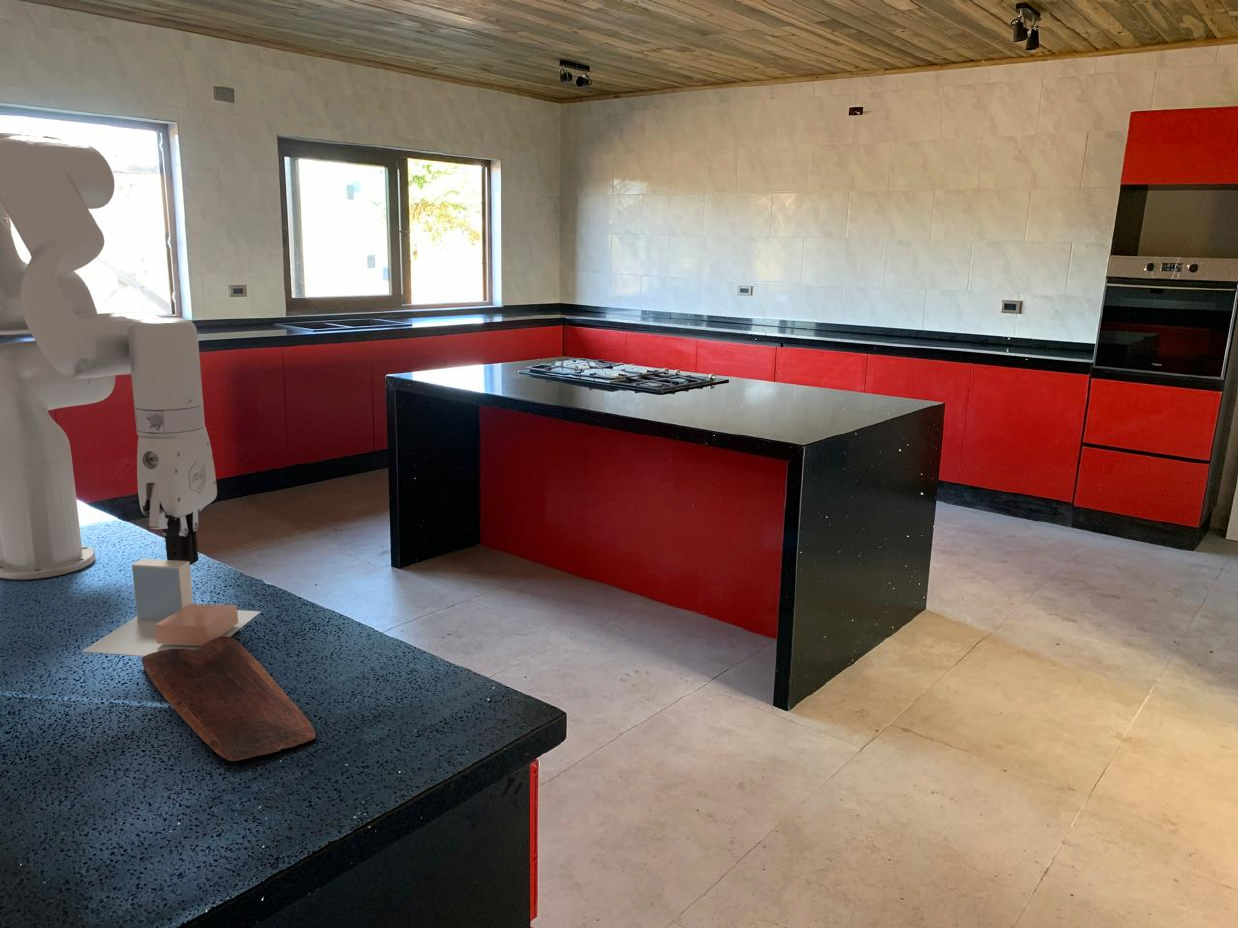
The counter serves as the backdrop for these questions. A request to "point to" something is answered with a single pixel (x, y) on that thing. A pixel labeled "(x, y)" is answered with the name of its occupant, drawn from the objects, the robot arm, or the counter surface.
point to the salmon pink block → (196, 624)
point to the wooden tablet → (228, 699)
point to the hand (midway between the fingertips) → (183, 562)
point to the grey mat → (149, 637)
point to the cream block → (161, 587)
